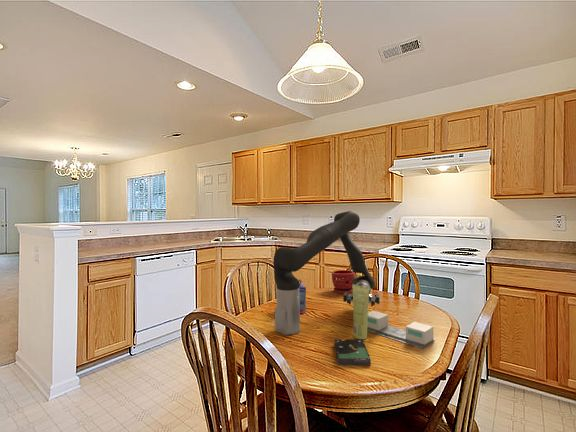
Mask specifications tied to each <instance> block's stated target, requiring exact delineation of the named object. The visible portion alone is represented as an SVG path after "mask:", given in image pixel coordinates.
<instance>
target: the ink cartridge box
mask: <svg viewBox="0 0 576 432" xmlns="http://www.w3.org/2000/svg"><path fill="white" fill-rule="evenodd" d="M298 280H299V285H300V287H299V288H300V314H306V310H307V309H306V307H307V305H306V303H307V302H306V301H307V300H306V299H307V298H306V297H307V296H306V295H307V292H306V291H307V290H306V289H307V287H306V286H304V285H303V284H302V282H303V280H301V279H300V278H299V279H298Z"/></svg>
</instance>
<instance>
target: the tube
mask: <svg viewBox="0 0 576 432" xmlns="http://www.w3.org/2000/svg"><path fill="white" fill-rule="evenodd" d="M352 288H353V292H352V293H353V302H352V303H353V305H352V306H353V309H352V310H353V337H354V338H355V339H356V340H357V339H362V340H366V339H367V338H368V331H367V321H368V312H369V303H368V302H369V291H370V288H368V287H363V286H358V285H354V284H352Z"/></svg>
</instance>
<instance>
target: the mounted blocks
mask: <svg viewBox="0 0 576 432" xmlns="http://www.w3.org/2000/svg"><path fill="white" fill-rule="evenodd" d="M388 325H389V314H387V313H384V312H380V311H377V310H372V311H368V321H367V327H370V328H373V329H376V330H380V329H382V328H384V327H386V326H388ZM405 330H406V339H408V340H411V341H415V342H418V343H421V344H424V345H425V344H427V343H428V342H429V341H431V340H432V339H433V338H434V326H433V325H429V324H425V323H421V322H418V321H413V322H411V323H410V324H407V325H406V326H405Z"/></svg>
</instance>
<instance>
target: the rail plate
mask: <svg viewBox="0 0 576 432" xmlns="http://www.w3.org/2000/svg"><path fill="white" fill-rule="evenodd" d="M367 333H372V334H375V335H378V336H381V337H384V338H387V339H391V340H394V341H397V342H400V343H403V344H406V345H409V346H413V347H414V348H415V347H416V348H419V349H421V350H424V348H427V347H428V346H430V344H432V343H434V342H435V341H436V339H435V338H434V337H433V339H432V340H431V341H429V342H428V343H427V344H425V345H424V344H421V343H418V342H415V341H411V340H408V339H406V329H402V328H399V327H396V326H393V325H389V324H388V326H386V327H384V328H382V329H380V330H376V329H373V328H370V327H367Z"/></svg>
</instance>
